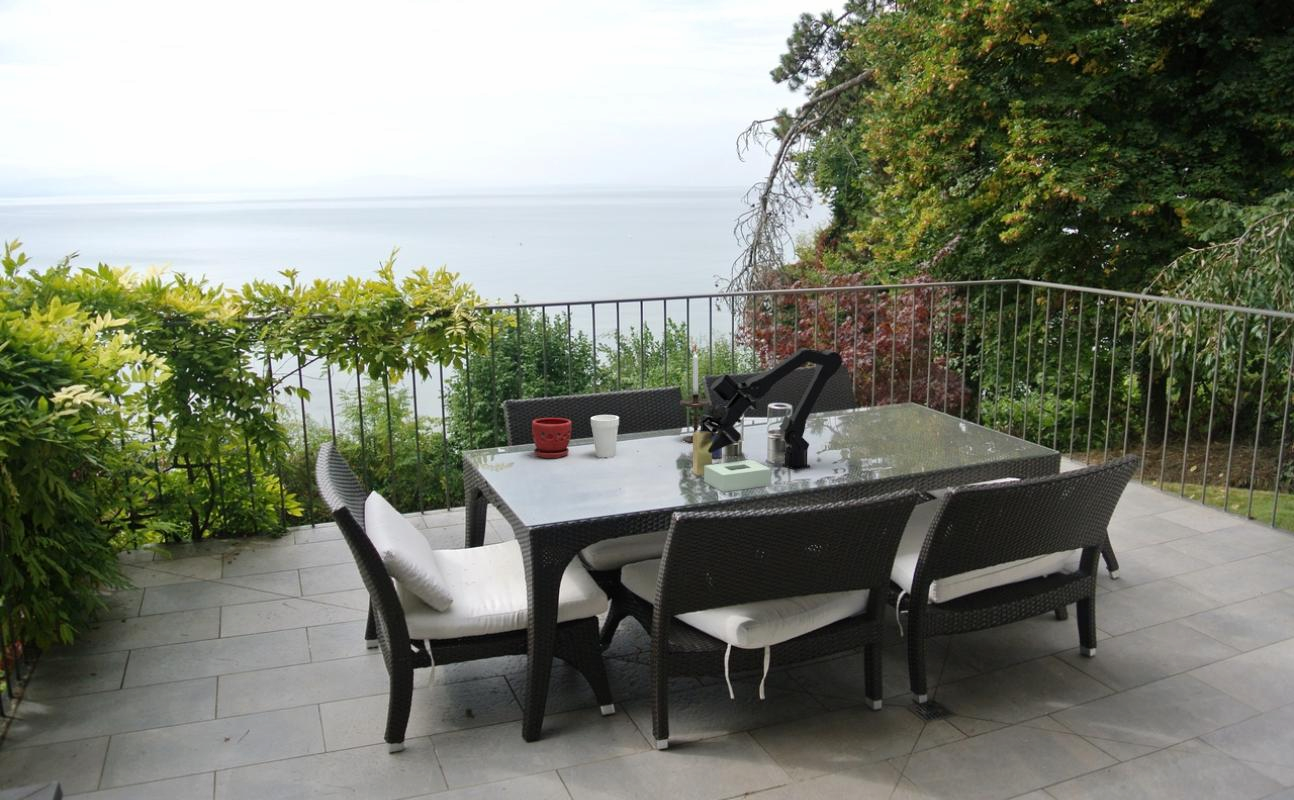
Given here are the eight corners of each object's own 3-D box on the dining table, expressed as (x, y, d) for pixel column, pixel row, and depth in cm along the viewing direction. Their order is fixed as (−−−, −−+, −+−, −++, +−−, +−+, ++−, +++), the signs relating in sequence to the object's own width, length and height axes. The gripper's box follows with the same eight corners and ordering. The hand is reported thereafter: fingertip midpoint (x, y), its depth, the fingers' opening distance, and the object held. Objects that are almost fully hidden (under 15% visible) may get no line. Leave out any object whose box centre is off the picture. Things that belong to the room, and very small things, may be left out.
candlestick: (709, 444, 332) (709, 345, 326) (678, 443, 334) (678, 345, 327) (712, 437, 343) (712, 341, 336) (682, 437, 344) (681, 341, 338)
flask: (722, 457, 315) (722, 425, 313) (721, 459, 312) (721, 427, 310) (695, 456, 317) (694, 424, 315) (693, 458, 314) (693, 426, 312)
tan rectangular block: (707, 471, 297) (707, 430, 295) (711, 473, 294) (711, 432, 292) (693, 473, 295) (692, 432, 293) (697, 475, 293) (697, 434, 290)
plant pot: (562, 461, 312) (561, 425, 310) (526, 458, 317) (525, 423, 314) (578, 452, 324) (577, 417, 322) (543, 449, 329) (542, 415, 326)
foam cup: (588, 458, 315) (587, 420, 313) (596, 451, 324) (595, 414, 322) (615, 459, 313) (614, 421, 311) (622, 453, 322) (622, 415, 320)
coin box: (750, 475, 292) (751, 459, 291) (770, 485, 281) (771, 468, 280) (704, 481, 286) (704, 465, 285) (722, 491, 275) (722, 475, 274)
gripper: (704, 389, 301) (672, 426, 299) (732, 399, 284) (698, 438, 282) (726, 411, 305) (695, 448, 303) (755, 422, 288) (722, 461, 286)
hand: (702, 448), depth 293 cm, fingers open, 9 cm apart
